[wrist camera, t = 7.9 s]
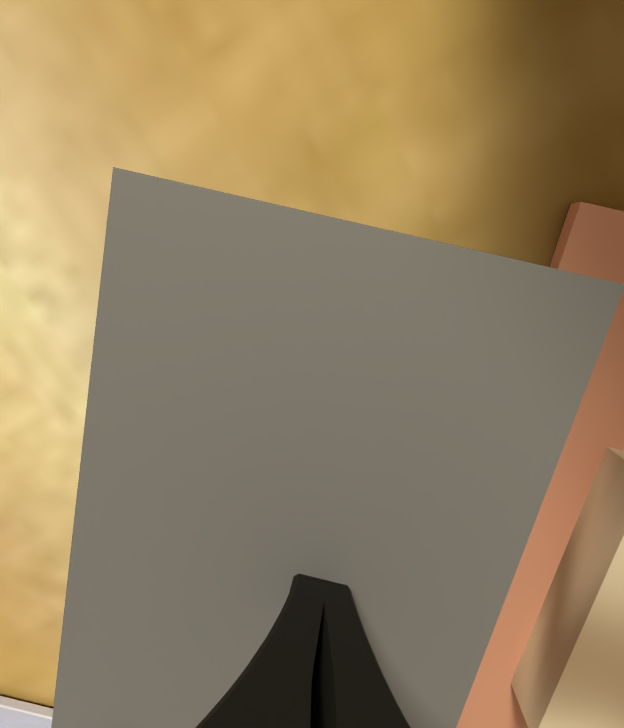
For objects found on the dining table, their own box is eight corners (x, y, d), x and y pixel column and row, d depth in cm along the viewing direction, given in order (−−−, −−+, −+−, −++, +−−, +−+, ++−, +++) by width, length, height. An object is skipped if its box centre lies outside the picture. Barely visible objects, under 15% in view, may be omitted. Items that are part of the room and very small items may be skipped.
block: (387, 742, 18) (399, 876, 14) (108, 674, 18) (44, 789, 14) (546, 274, 14) (625, 284, 10) (177, 190, 14) (112, 167, 10)
